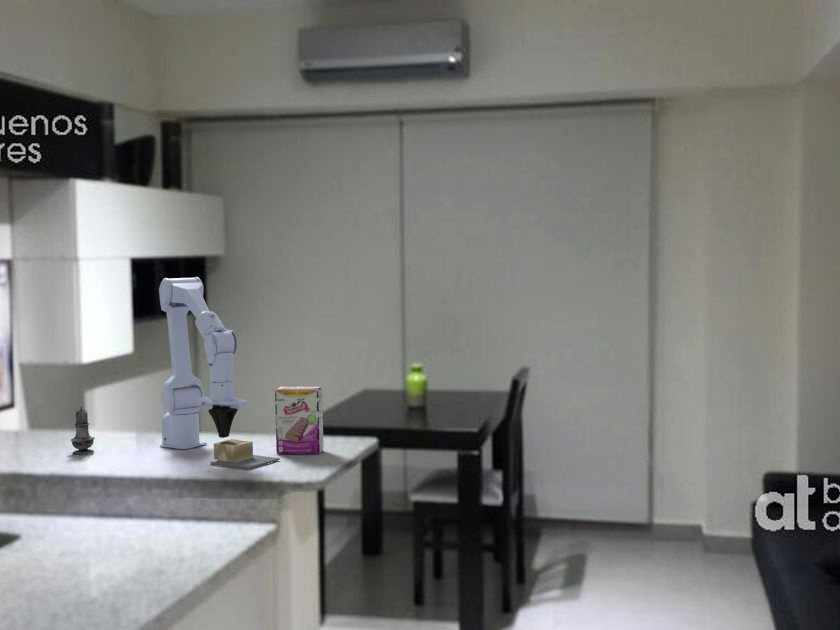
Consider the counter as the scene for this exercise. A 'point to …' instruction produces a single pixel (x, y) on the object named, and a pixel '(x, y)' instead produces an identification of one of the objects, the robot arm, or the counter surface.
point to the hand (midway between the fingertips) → (224, 437)
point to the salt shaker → (82, 434)
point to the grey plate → (246, 462)
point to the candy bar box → (299, 420)
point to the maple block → (233, 450)
